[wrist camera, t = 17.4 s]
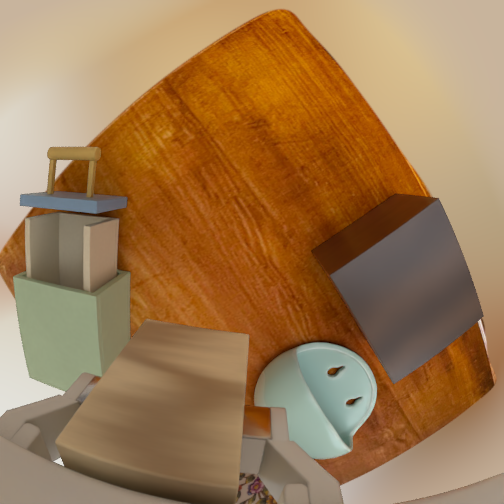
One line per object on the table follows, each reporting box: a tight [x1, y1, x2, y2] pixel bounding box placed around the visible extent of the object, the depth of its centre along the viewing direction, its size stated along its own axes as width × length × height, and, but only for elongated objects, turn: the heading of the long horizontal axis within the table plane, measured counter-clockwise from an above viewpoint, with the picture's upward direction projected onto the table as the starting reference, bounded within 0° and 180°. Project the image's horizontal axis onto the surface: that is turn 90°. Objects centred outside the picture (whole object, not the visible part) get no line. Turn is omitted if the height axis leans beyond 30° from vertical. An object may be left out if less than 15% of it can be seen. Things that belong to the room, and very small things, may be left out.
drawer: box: [20, 147, 127, 293], centre depth 31 cm, size 18×10×7 cm, turn 172°
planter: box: [254, 342, 377, 459], centre depth 36 cm, size 19×7×16 cm
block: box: [55, 319, 249, 504], centre depth 9 cm, size 4×4×7 cm
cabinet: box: [13, 270, 130, 392], centre depth 34 cm, size 14×12×9 cm
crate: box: [312, 194, 483, 384], centre depth 31 cm, size 14×12×10 cm
